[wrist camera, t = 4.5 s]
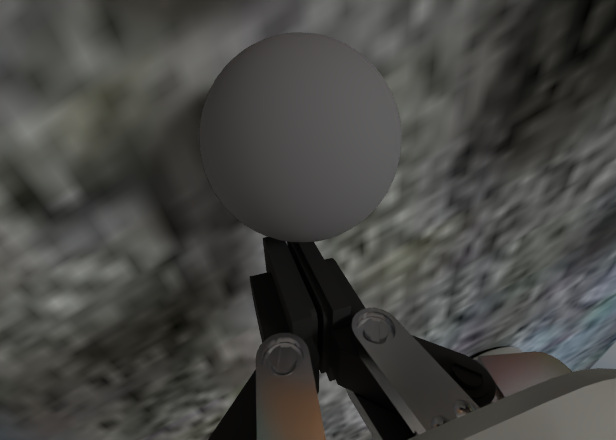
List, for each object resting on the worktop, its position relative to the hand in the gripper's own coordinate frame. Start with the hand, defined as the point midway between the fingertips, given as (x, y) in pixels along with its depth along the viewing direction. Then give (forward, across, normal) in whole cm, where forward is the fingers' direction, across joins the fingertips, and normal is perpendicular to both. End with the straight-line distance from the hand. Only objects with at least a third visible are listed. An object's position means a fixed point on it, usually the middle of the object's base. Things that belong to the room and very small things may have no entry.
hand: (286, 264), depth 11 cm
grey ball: (-1, 0, -5) cm, 5 cm away
